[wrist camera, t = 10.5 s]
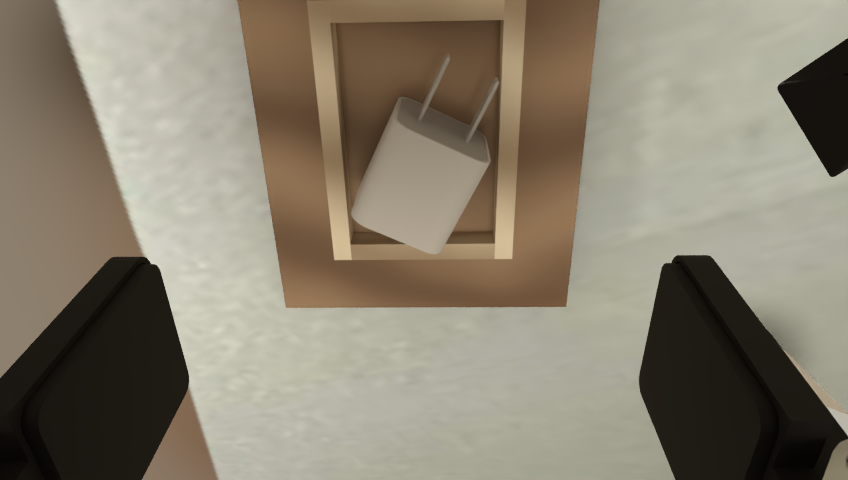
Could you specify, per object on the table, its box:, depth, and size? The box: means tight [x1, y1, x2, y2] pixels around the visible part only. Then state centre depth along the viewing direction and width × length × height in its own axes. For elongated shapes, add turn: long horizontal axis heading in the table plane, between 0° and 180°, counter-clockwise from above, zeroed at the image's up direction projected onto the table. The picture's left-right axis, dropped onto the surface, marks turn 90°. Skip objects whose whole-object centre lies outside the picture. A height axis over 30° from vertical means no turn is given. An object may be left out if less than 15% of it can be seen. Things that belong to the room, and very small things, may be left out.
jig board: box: [238, 0, 599, 308], centre depth 26 cm, size 18×14×2 cm
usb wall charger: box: [351, 54, 499, 254], centre depth 24 cm, size 4×7×4 cm, turn 155°
